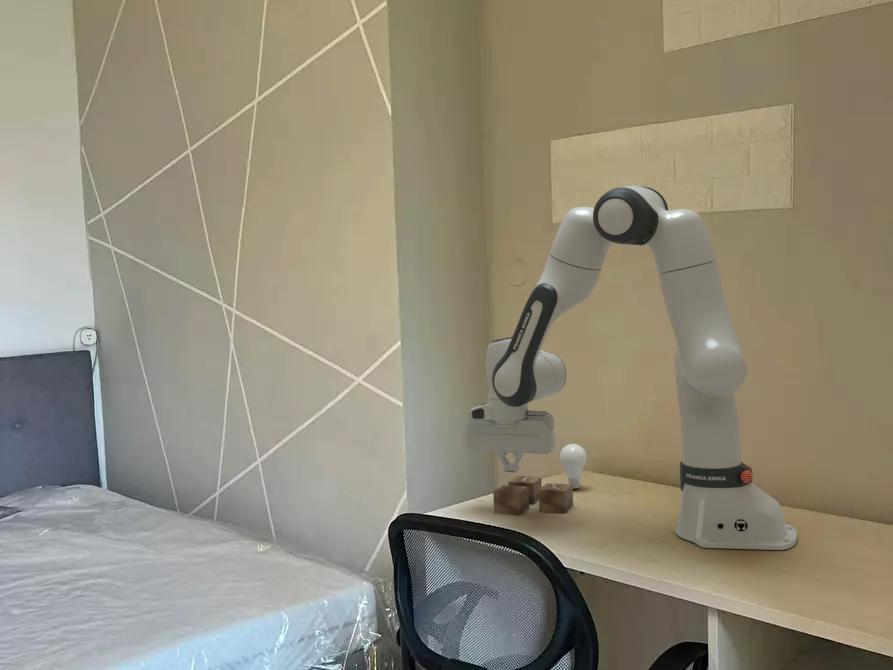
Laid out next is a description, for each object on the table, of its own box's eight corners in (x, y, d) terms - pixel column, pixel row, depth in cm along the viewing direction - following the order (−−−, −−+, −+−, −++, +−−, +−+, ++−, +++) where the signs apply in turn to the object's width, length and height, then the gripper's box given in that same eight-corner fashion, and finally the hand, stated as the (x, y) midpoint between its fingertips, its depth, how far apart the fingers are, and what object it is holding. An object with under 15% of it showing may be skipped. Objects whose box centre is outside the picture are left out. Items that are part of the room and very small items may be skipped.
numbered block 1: (542, 498, 206) (541, 476, 206) (534, 504, 201) (533, 482, 201) (517, 496, 209) (516, 475, 209) (509, 503, 203) (508, 481, 203)
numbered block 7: (573, 506, 198) (572, 483, 198) (565, 513, 193) (565, 490, 192) (547, 504, 201) (546, 482, 200) (539, 511, 195) (538, 489, 195)
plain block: (529, 508, 198) (528, 486, 198) (519, 515, 193) (518, 493, 192) (504, 506, 201) (503, 484, 200) (494, 513, 196) (493, 491, 195)
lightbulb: (556, 487, 214) (554, 443, 214) (580, 484, 216) (578, 440, 215) (567, 493, 208) (566, 447, 208) (592, 490, 210) (590, 445, 209)
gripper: (557, 408, 194) (560, 470, 195) (472, 406, 202) (475, 466, 203) (548, 413, 188) (551, 477, 189) (460, 411, 197) (464, 472, 198)
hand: (511, 471), depth 196 cm, fingers closed
